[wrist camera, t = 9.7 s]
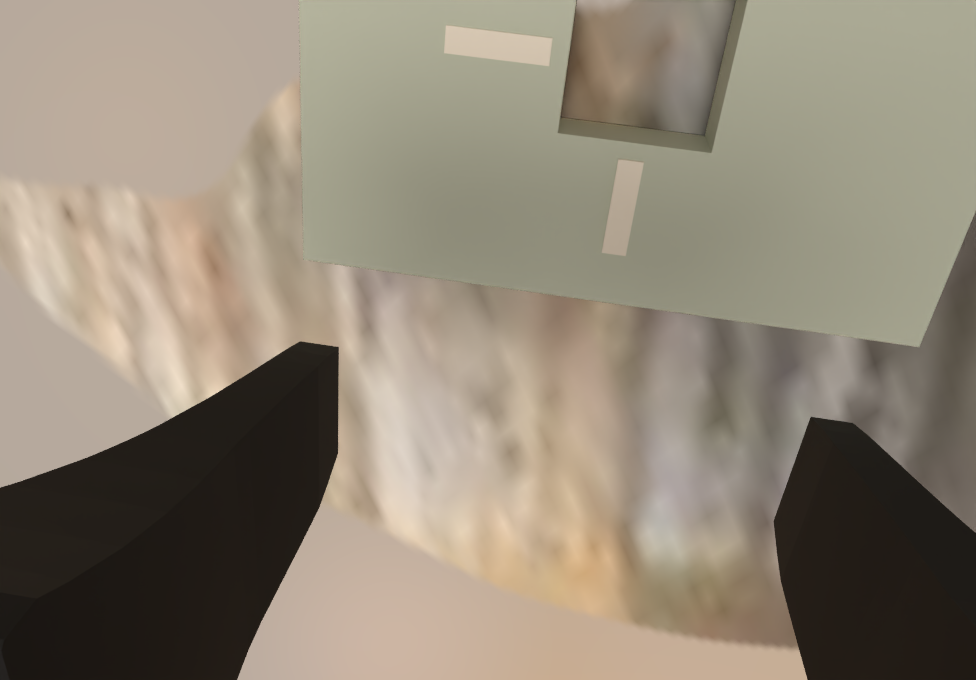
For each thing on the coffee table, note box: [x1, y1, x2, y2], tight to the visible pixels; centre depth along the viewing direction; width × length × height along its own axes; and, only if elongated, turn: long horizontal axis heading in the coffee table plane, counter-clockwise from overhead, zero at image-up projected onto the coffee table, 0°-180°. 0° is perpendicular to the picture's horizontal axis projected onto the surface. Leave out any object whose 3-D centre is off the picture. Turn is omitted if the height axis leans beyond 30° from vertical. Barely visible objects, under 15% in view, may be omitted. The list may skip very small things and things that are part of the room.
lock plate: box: [299, 0, 976, 347], centre depth 19 cm, size 16×12×2 cm
